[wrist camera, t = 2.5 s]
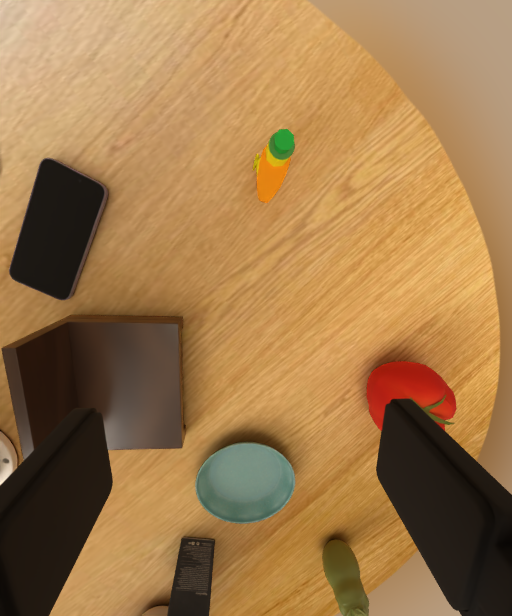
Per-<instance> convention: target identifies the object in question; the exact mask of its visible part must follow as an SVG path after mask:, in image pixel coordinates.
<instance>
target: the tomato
mask: <svg viewBox="0 0 512 616" xmlns="http://www.w3.org/2000/svg"><path fill="white" fill-rule="evenodd" d="M404 398H409V399H411V400H413V401H414V402H415V403H416V404H417V405H418V406H419V407H420V408H421V409H422V410H423V411H424V412H425V413H426V414H428V415H429V416H430V417H431V418H432V419H433V420H434V421H435V422H436V423H437V424H438V425H439V426H440V427H441V428H442V429H443V430H444V431H445V424H447V425H450V424H455V423H450V422H447V421H445V420H447V419H450V418H453V416H454V414H455V411H456V400H455V396H454V393H453V391H452V390H451V389H450V388H449V386H448V385H447V384H446V383H445V381H444V380H443V379H442V378H441V377H440V376H439V375H438V374H437V373H436V372H435V371H434V370H432V369H431V368H429V367H427V366H426V365H423V364H420V363H414V362H406V361H398V362H390V363H387V364H384V365H381V366H379V367H378V368H376V369H375V370H373V371H372V373H371V375H370V376H369V378H368V383H367V400H368V404H369V412H370V415H371V417H372V419H373V420H374V422H375V424H376V425H377V427H378V428H379V429H380V430H381V431H382V425H383V418H384V411H385V406H386V404H388V403H390V401H391V400H392V399H404Z"/></svg>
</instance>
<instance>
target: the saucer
mask: <svg viewBox="0 0 512 616" xmlns="http://www.w3.org/2000/svg"><path fill="white" fill-rule="evenodd" d="M195 487H196V494H197V497H198V499H199V501H200V503H201V504H202V506H203V507H204V508H205V509H206V510H207V511H208V512H209V513H210V514H212V515H213V516H215V517H217V518H219V519H221V520H223V521H227V522H231V523H239V524H243V523H244V524H246V523H254V522H258V521H261V520H264V519H267V518H269V517H271V516H273V515H274V514H276V513H277V512H278V511H280V510H281V509H282V508H283V507H284V506H285V505H286V504H287V503H288V501H289V500H290V498H291V496H292V494H293V491H294V487H295V474H294V470H293V468H292V466H291V464H290V463H289V461H288V460H287V459H286V458H285V457H284V456H283V455H282V454H281V453H280V452H278V451H277V450H275V449H274V448H272V447H270V446H267V445H265V444H261V443H257V442H239V443H234V444H231V445H228V446H225V447H223V448H221V449H220V450H218V451H217V452H215V453H214V454H213V455H211V456H210V457H209V458H208V459H207V460H206V461H205V462H204V463H203V465H202V466H201V468H200V470H199V472H198V474H197V478H196V484H195Z"/></svg>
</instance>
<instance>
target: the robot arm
mask: <svg viewBox="0 0 512 616" xmlns="http://www.w3.org/2000/svg"><path fill="white" fill-rule="evenodd" d="M17 462H18V460H17V454H16V451H15V449H14V446H13V445H12V443H11V442H10V440H9V439H8V438H7V437H6V436H5V435H4V434H3V433H2V432H0V616H49V614H50V612H51V610H52V608H53V606H54V604H55V602H56V600H57V598H58V596H59V594H60V592H61V590H62V588H63V586H64V584H65V582H66V580H67V578H68V576H69V574H70V572H71V570H72V568H73V566H74V564H75V562H76V560H77V558H78V556H79V554H80V552H81V550H82V548H83V546H84V544H85V542H86V540H87V538H88V536H89V534H90V532H91V530H92V528H93V526H94V524H95V522H96V520H97V518H98V516H99V514H100V512H101V510H102V508H103V506H104V504H105V502H106V500H107V498H108V496H109V494H110V492H111V489H112V483H113V480H112V473H111V467H110V460H109V454H108V448H107V441H106V435H105V429H104V422H103V416H102V414H101V413H100V412H97V410H96V409H95V408H75V409H73V410H72V411H71V412H70V413H69V414H68V415H67V416H66V417H65V418H64V419H63V420H62V421H61V422H60V423H59V424H58V425H57V426H56V427H55V429H54V430H53V431H52V432H51V433H50V434H49V435H48V436H47V437H46V438H45V439H44V440H43V441H42V442H41V443H40V444H39V445H38V446H37V447H36V448H35V449H34V451H33V452H32V453H31V454H30V455H29V456H28V457H27V458H26V459H25V460H24V461H23V462H22V463H21V464H20V465H19V466H18V467H17ZM376 471H377V476H378V479H379V481H380V483H381V485H382V487H383V488H384V490H385V492H386V494H387V495H388V497H389V499H390V501H391V502H392V504H393V506H394V508H395V509H396V511H397V513H398V515H399V516H400V518H401V520H402V522H403V523H404V525H405V527H406V529H407V530H408V532H409V534H410V536H411V537H412V539H413V541H414V543H415V545H416V546H417V548H418V550H419V552H420V553H421V555H422V557H423V558H424V560H425V562H426V564H427V566H428V567H429V569H430V571H431V573H432V574H433V576H434V578H435V580H436V581H437V583H438V585H439V587H440V588H441V590H442V592H443V594H444V595H445V597H446V599H447V601H448V602H449V604H450V605H451V606H452V607H453V609H455V610H459V612H460V614H461V615H462V616H512V495H511V494H510V493H509V492H508V491H507V490H506V489H505V488H504V487H503V486H502V485H501V484H500V483H499V482H498V481H497V480H496V479H495V478H493V477H492V476H491V475H490V474H489V473H488V472H487V471H486V470H485V469H484V468H483V467H482V466H481V465H480V464H479V463H478V462H477V461H476V460H475V459H474V458H473V457H471V456H470V455H469V454H468V453H467V452H466V451H465V450H464V449H463V448H462V447H461V446H460V445H459V444H458V443H457V442H456V441H455V440H454V439H453V438H452V437H451V436H449V435H448V434H447V433H446V432H445V431H444V430H443V429H442V428H441V427H440V426H439V425H438V424H437V423H436V422H435V421H434V420H433V419H432V418H431V417H430V416H429V415H428V414H426V413H425V412H424V411H423V410H422V409H421V408H420V407H419V406H418V405H417V404H416V403H415V402H414V401H413V400H411V399H409V398H404V399H392V400H391V401H390V403H388V404H386V406H385V411H384V418H383V425H382V432H381V439H380V446H379V453H378V460H377V467H376Z"/></svg>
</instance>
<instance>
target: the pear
mask: <svg viewBox="0 0 512 616" xmlns="http://www.w3.org/2000/svg"><path fill="white" fill-rule="evenodd" d="M322 559H323V567H324V572H325V575H326V578H327V580H328V582H329V584H330V585H331V587H332V588H333V591H334V594H335V598H336V600H337V602H338V605H339V609H340V612H341V614H342V615H343V616H368V613H369V609H368V607H369V601H368V598H367V596H366V594H365V591H364V588H363V585H362V583H361V579H360V570H359V565H358V562H357V559H356V557H355V555H354V553H353V551H352V550H351V548H350V547H349V546H348V545H347V544H346V543H345V542H344V541H342V540H331V541H329V542H328V543H327V544H326V545H325V547H324V550H323V556H322Z"/></svg>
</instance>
